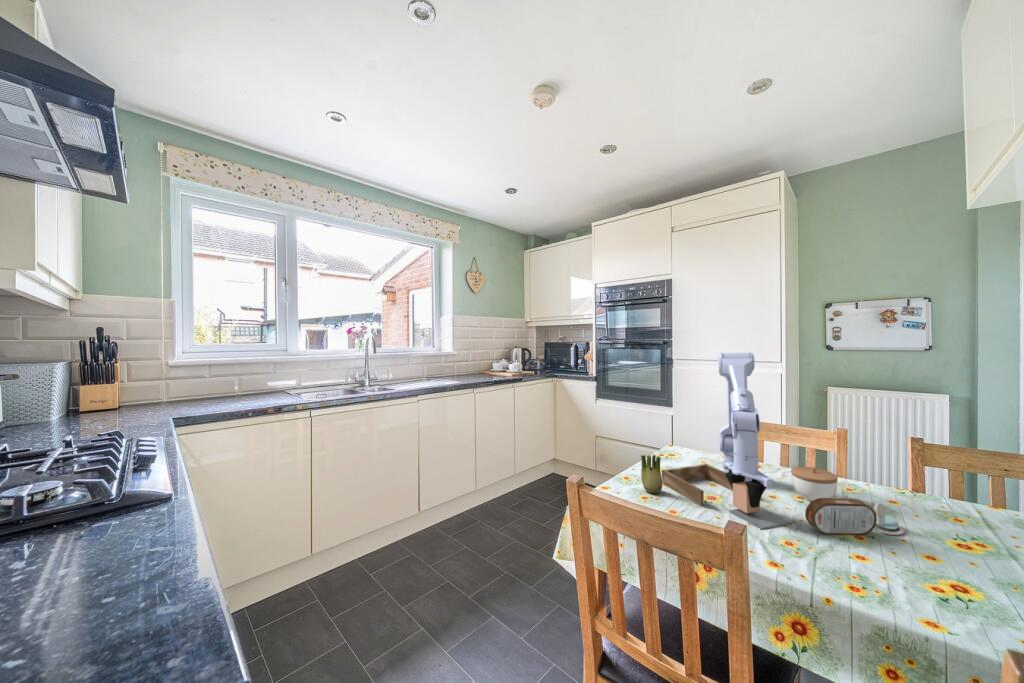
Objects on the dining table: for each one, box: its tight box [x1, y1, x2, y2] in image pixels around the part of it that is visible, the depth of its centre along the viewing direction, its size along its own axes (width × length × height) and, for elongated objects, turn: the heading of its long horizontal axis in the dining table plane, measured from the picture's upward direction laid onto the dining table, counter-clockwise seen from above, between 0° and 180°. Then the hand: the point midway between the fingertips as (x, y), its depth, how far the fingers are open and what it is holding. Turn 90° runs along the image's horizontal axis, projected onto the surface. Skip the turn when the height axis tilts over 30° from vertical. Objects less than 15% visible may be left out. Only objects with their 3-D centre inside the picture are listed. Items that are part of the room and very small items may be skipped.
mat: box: [728, 506, 793, 530], centre depth 100 cm, size 10×10×1 cm
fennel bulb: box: [640, 453, 663, 495], centre depth 118 cm, size 6×5×12 cm
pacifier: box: [873, 502, 905, 536], centre depth 92 cm, size 7×6×6 cm
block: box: [732, 481, 761, 513], centre depth 103 cm, size 4×4×6 cm
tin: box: [805, 497, 877, 536], centre depth 91 cm, size 15×3×8 cm, turn 84°
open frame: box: [661, 463, 747, 507], centre depth 118 cm, size 18×18×4 cm
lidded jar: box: [790, 466, 838, 503], centre depth 110 cm, size 11×11×9 cm
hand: (746, 502), depth 103 cm, fingers closed on block, 4 cm apart
